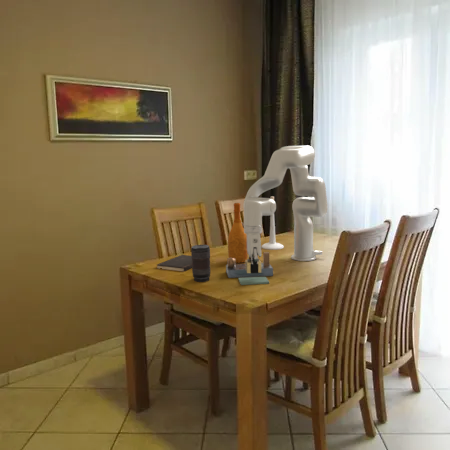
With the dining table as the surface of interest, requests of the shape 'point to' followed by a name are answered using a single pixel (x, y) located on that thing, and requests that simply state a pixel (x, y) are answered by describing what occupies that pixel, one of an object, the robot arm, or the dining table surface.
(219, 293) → the dining table surface
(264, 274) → the hand plane
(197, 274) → the camera lens
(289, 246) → the dining table surface
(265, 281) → the rubber mat
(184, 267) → the hardcover book
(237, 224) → the wine bottle
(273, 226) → the candlestick
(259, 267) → the lever cap
